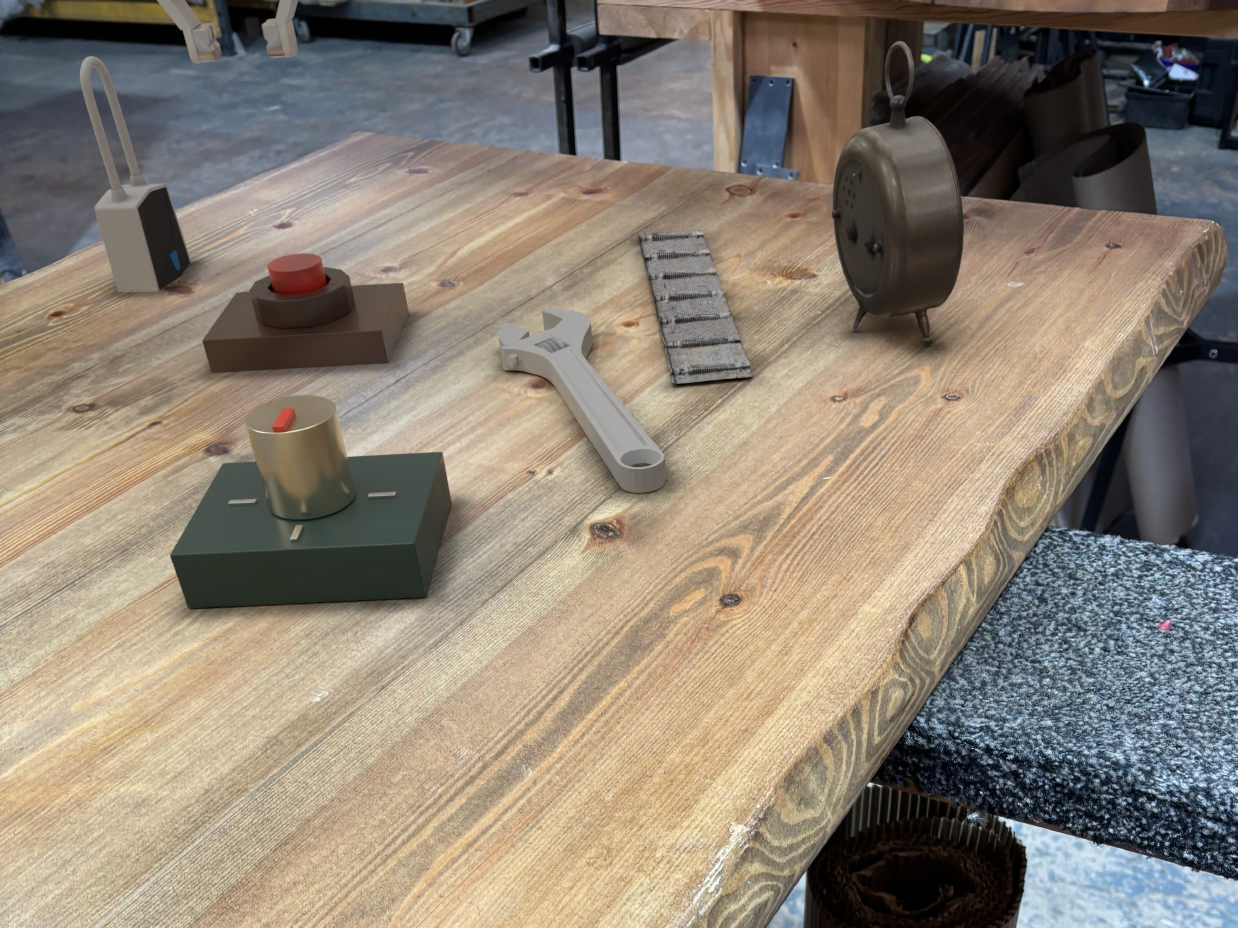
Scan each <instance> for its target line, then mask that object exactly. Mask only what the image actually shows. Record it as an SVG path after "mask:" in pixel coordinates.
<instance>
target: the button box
mask: <svg viewBox="0 0 1238 928" xmlns="http://www.w3.org/2000/svg"><path fill="white" fill-rule="evenodd" d="M323 267H324V271H325V276H326V280H327V285H326V286H324V287H322V288H320V289H318V290H314V291H310V292H306V293H301V294H289V295H283V294H277V293H274V292H273V288H272V284H271V280H270V276H269V275H266V276H264V277H263V278H260V279H258V280H256V281H254V283H252V286H251V287H250V289H249V290H248V291H240V292H238V291H237V292H235V294H234V295H233V297H232V298H231V299H230V300H229V302H228V303H227V305H226V306H225V307H224V309H223V311H222V312H221V314H220V315H219V316H218V318H217V319H216V321H215V322H214V323H213V325H212V326H211V327H210V329H209V330H208V331H207V333H206V335H204V337H203V338H202V341H201V342H202V345H203V349H204V352H205V355H206V358H207V362H208V365H209V366H208V367H209V369H210V373H211V374H220V373H238V372H239V373H241V372H254V371H255V372H256V371H258V372H259V371H272V370H273V371H274V370H275V371H276V370H292V369H311V368H327V367H330V368H331V367H344V366H345V367H347V366H363V365H383V364H389V362H390V360H391V358H392V356H393V353H394V351H395V349H396V346H397V344H398V341H399V339H400V337H401V334H402V332H403V329H404V327H405V325H406V322H407V320H408V317H409V315H410V312H409V305H408V301H407V296H406V290H405V285H404V284H405V283H404V282H392V283H391V282H389V283H376V284H375V283H374V284H373V283H372V284H358V285H352V281H351V277H350V275H349V274H347V273H346V272H345V271H344V270H342V269H340V268H334V267H329V266H323Z"/></svg>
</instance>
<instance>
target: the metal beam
mask: <svg viewBox="0 0 1238 928" xmlns="http://www.w3.org/2000/svg"><path fill="white" fill-rule="evenodd" d="M704 235H705V234H704V231H702V230H701V229H696V230H687V231H686V230H685V231H676V232H674V231H673V232H662V231H661V232H651V233H645V234H639V233H637V236H638V240H639V245H640V249H641V253H642V256H643V260H644V266H645V269H646V270H645V271H646V274H647V277H648V282H649V286H650V290H651V295H652V298H653V304H654V309H655V313H656V317H657V319H658V326H659V330H660V334H661V339H662V343H663V344H664V350H665V351H664V352H665V355H666V358H667V361H668V362H667V365H668V369H669V371H670V378H671V382H672V384H673V385H674V384H677V385H679V384H688V383H690V384H691V383H697V382H698V383H699V382H707V381H717V380H718V381H719V380H727V379H739V378H741V379H742V378H749V377H750V378H752V377H753V372H752V370H751V363H750V361H749V360H748V359H747V356H746V353H745V350H744V347H743V344H742V338H741V335H740V334H739V332H738V330H737V326H736V324H735V321H734V318H733V314H732V311H731V310H730V307H729V304H728V301H727V299H726V296H725V295H726V293H725V290H723V287H722V285H721V282H720V279H719V276H718V271H717V268H716V267H715V265H714V262H713V260H712V257H711V251H710V249H709V248H708V244H707V242H706V240H705V236H704Z"/></svg>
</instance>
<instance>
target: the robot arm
mask: <svg viewBox="0 0 1238 928" xmlns="http://www.w3.org/2000/svg"><path fill="white" fill-rule="evenodd" d="M156 1H157V2H158V4H159V5H160V6H161V8H162V10H164V12H166V14H167V16H169V18H170V19H171V20H172V21H173V23H174V24H175V26H177V28H178V29H179V30H180V31H182V33H183V36H184V40H185V45H186V48H187V51H188V56H189V59H190V61H191V63H193V64H204V63H215V62H218V61H219V60H221V58H222V48H221V44H220V43H219V41H218V40H217V38H218V36H219V35H218V31H217V28H216V24H215V22H208V23H207V22H205V23H202V22H201V20H200V19H199V18H198V16H197V14H196V13H195V12H194V10H193V9H192V8H191V6H190V5H189V4H188V2H187V1H186V0H156ZM298 2H299V0H279V3H278V6H277V11H276V15H275V18H268V19H266V20H265V22H263V23H262V24H261V30H262V35H263V39H264V40H265V41H266V42H267V43H266V46H265V47H266V53H267V55H268V57H269V58H270V59H276V58H277V59H278V58H294V57H295V56H296V55H297V54H298V52H299V46H298V41H297V36H296V30H295V27H294V22H293V18H294V17H295V14H296V11H297V7H298Z"/></svg>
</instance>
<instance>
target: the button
mask: <svg viewBox="0 0 1238 928" xmlns="http://www.w3.org/2000/svg"><path fill="white" fill-rule="evenodd" d="M266 267H267V271H268V276H270V280H271V284H272V288H273V292H274V293H277V294H283V295H289V294H301V293H306V292H310V291H314V290H318V289H320V288H322V287H324V286H326V285H327V280H326V276H325V271H324V267H325V266H324V263H323V259H322V257H321V256H320V255H318V254H314V253H307V252H305V253H293V254H292V253H291V254H286V255H282V256H280V257H277V258H274V259H273V260H271V261H269V262H268V264H267V266H266Z"/></svg>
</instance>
